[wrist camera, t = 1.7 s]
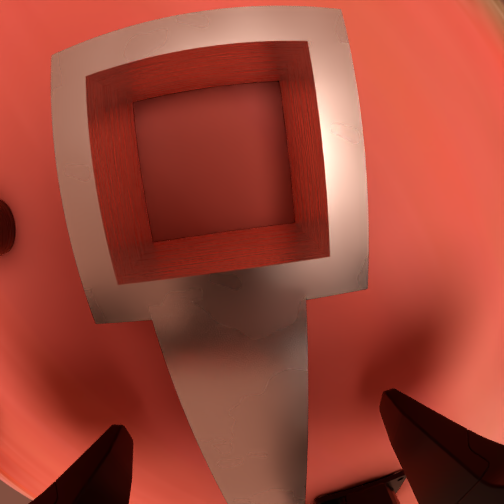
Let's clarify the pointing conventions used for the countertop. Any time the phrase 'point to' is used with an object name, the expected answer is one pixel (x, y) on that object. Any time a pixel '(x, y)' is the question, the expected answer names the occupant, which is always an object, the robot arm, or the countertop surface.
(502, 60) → the countertop surface
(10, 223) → the dark round cylinder
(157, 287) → the square scoop
